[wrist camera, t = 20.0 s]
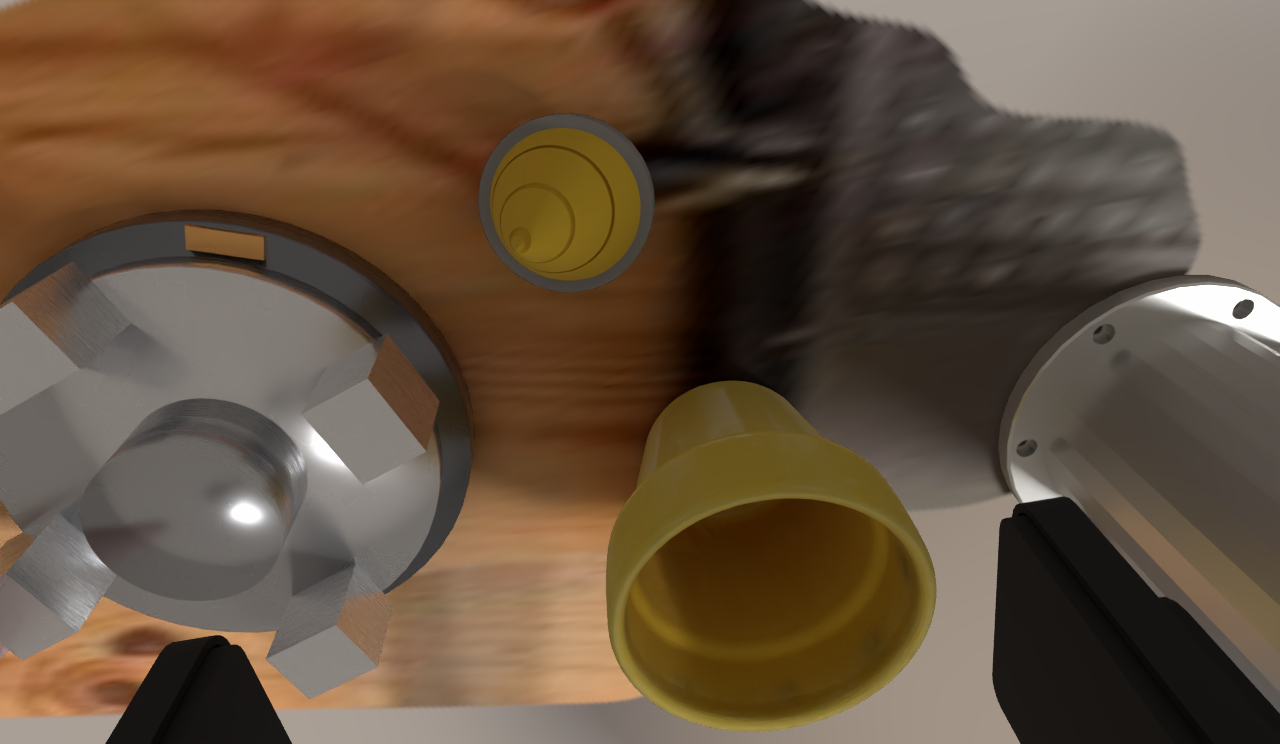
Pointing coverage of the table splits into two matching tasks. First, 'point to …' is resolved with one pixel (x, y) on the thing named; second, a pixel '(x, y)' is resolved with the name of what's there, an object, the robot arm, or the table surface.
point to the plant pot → (761, 568)
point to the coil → (3, 650)
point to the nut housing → (329, 274)
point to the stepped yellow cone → (566, 202)
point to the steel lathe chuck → (210, 460)
